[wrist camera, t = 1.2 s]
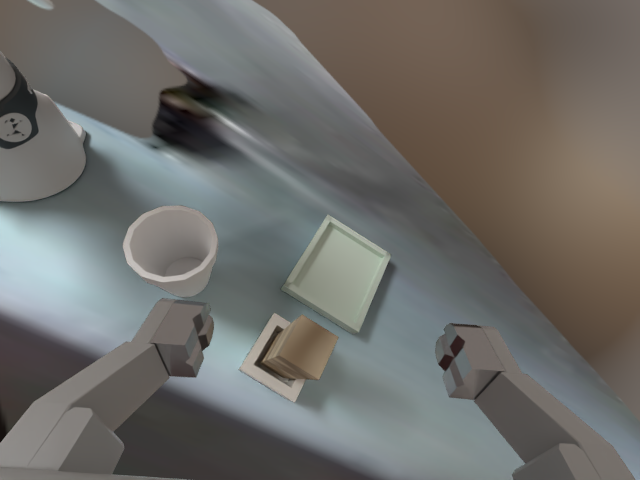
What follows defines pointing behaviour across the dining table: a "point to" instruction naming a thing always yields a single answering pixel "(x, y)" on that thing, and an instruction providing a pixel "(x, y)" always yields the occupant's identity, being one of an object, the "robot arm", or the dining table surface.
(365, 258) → the tray
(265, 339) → the white square container
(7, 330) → the dining table surface
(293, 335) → the tan wooden block
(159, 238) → the foam cup
